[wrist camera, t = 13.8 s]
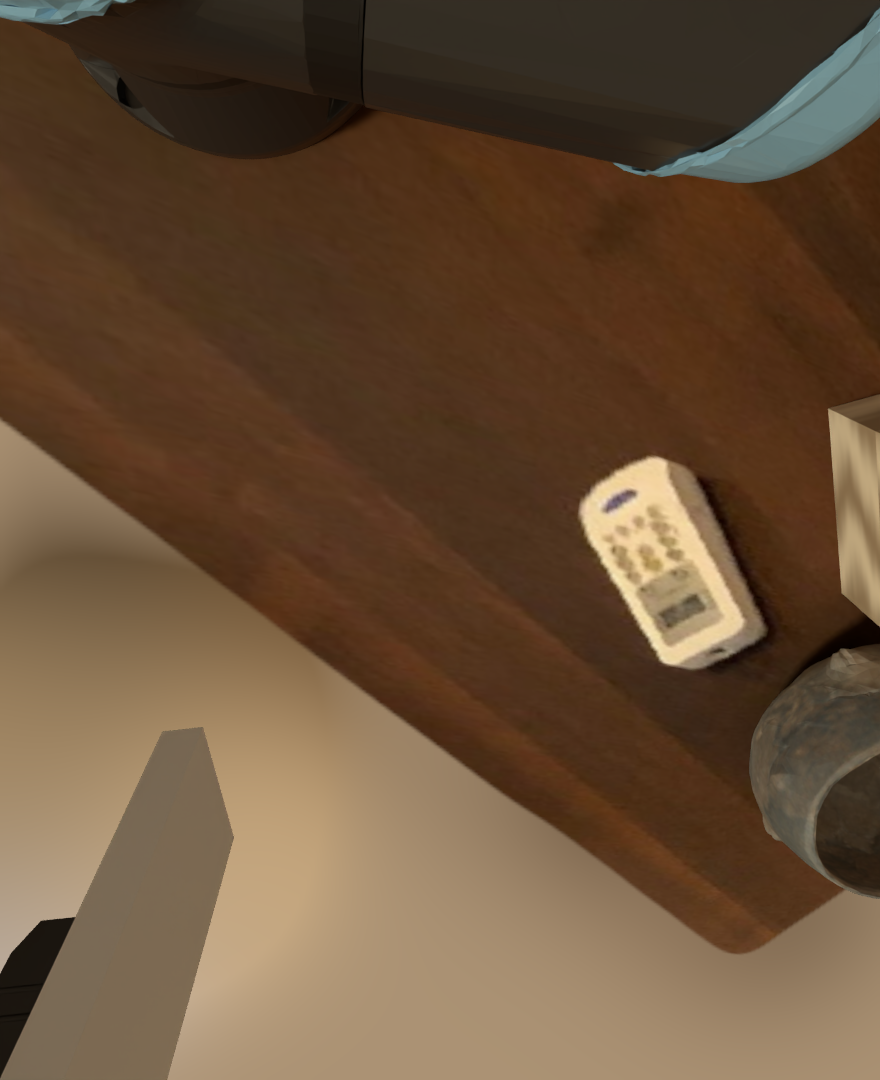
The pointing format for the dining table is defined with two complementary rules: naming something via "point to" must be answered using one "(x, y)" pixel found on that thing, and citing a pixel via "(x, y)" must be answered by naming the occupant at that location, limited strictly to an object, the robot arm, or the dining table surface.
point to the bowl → (825, 768)
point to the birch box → (858, 500)
